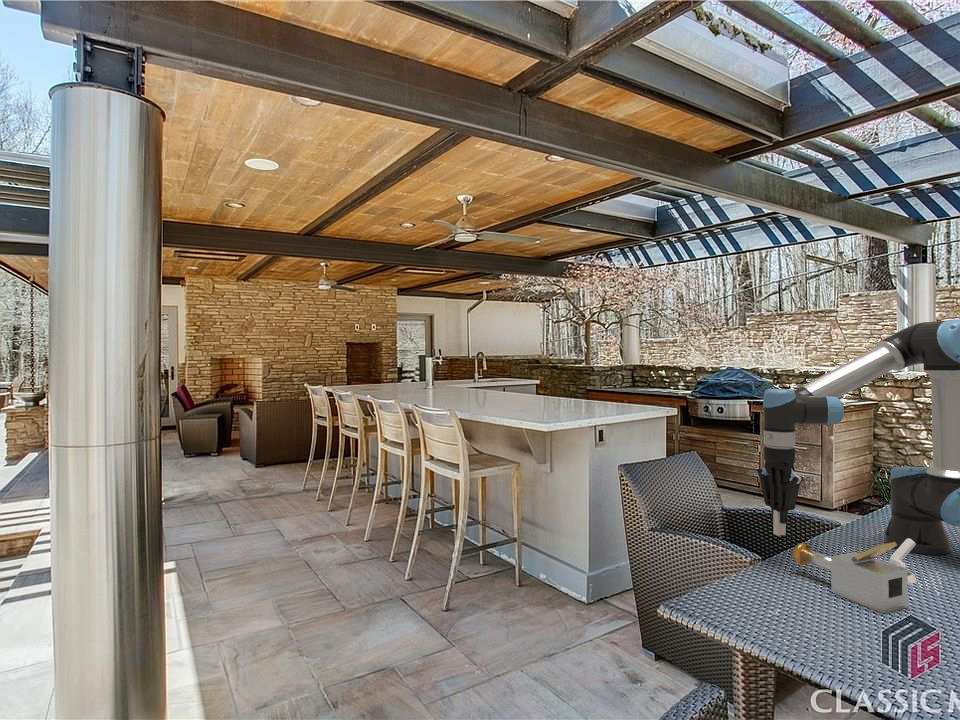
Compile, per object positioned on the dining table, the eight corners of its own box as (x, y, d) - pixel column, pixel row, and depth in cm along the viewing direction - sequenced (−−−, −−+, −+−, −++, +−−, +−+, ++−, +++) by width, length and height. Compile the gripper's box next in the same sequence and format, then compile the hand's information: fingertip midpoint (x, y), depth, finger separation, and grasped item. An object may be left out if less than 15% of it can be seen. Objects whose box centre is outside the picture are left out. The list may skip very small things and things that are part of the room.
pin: (807, 561, 146) (807, 541, 146) (853, 578, 135) (852, 557, 135) (793, 564, 145) (792, 544, 145) (837, 582, 133) (837, 560, 133)
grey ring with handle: (945, 562, 137) (926, 548, 135) (912, 599, 138) (893, 586, 137) (918, 545, 144) (900, 532, 143) (887, 581, 146) (869, 568, 144)
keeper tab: (872, 559, 131) (868, 554, 132) (898, 546, 125) (894, 541, 126) (854, 563, 129) (850, 558, 129) (879, 549, 123) (875, 544, 124)
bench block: (855, 587, 136) (854, 551, 136) (908, 607, 125) (907, 569, 125) (831, 592, 133) (831, 556, 133) (883, 613, 122) (882, 574, 122)
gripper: (749, 444, 156) (749, 529, 156) (789, 451, 143) (790, 543, 143) (769, 442, 158) (770, 526, 158) (811, 449, 146) (811, 540, 146)
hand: (779, 534), depth 151 cm, fingers closed
